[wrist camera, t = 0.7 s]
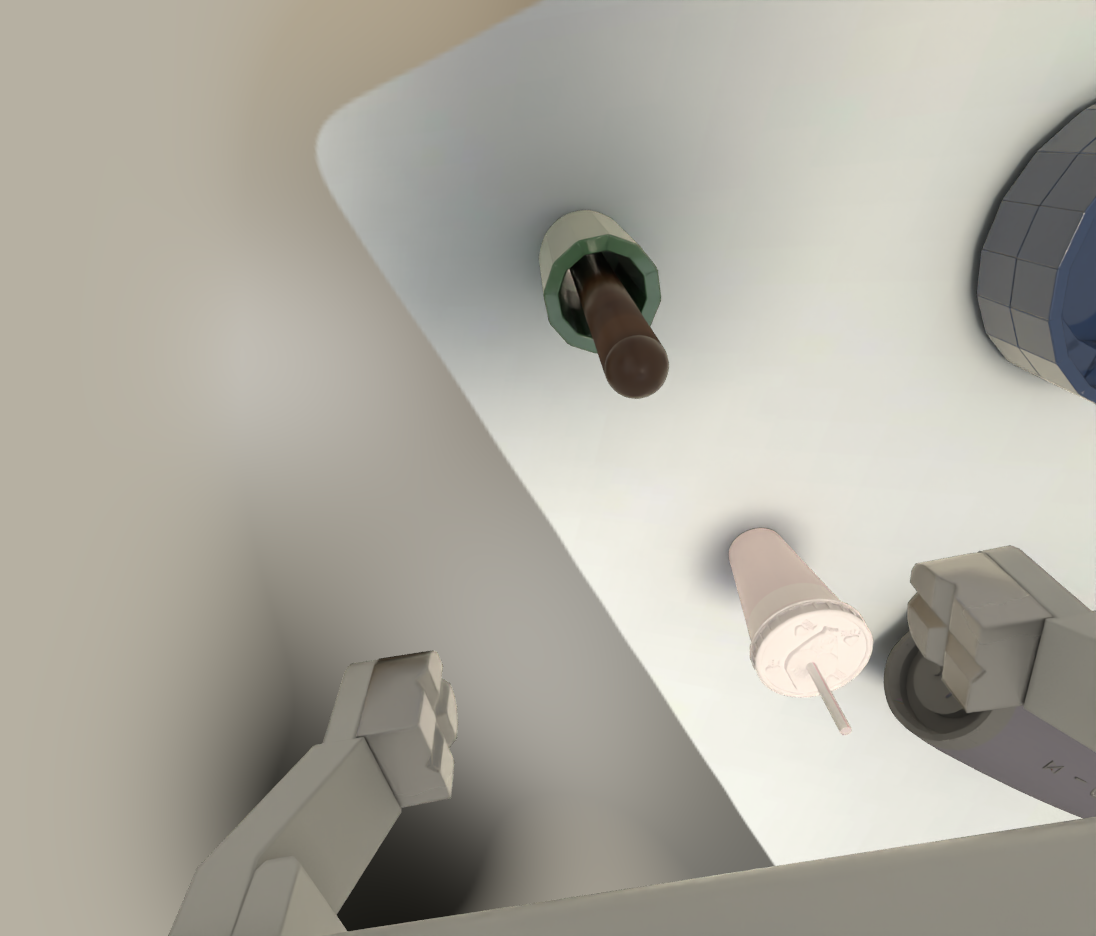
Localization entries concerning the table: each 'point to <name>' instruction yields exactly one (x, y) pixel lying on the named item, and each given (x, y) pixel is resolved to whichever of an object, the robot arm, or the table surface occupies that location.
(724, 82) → the table surface
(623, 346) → the stick
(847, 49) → the table surface
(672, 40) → the table surface
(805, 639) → the smoothie
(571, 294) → the holder
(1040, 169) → the bowl
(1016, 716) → the bluetooth speaker
